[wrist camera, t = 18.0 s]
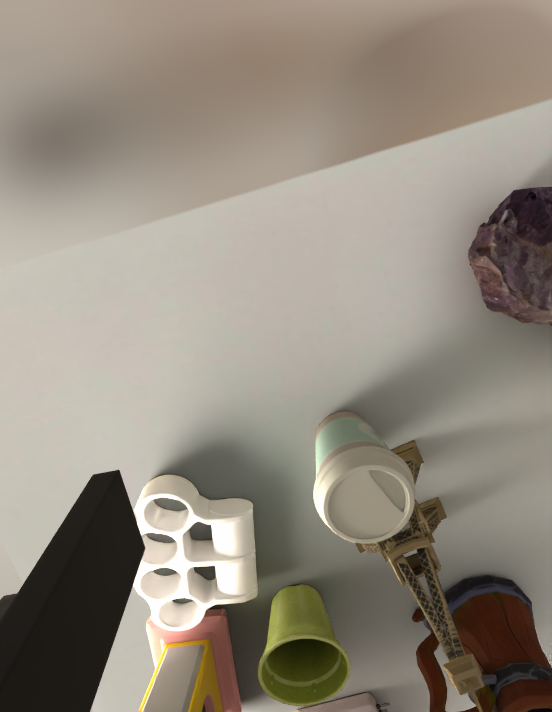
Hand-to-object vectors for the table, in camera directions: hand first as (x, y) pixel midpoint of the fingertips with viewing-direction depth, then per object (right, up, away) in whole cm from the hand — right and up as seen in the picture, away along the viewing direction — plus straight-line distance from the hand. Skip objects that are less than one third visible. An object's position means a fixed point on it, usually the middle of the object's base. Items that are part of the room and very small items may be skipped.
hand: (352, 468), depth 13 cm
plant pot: (0, -26, +42) cm, 49 cm away
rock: (+19, +12, +30) cm, 38 cm away
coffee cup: (+5, -5, +35) cm, 36 cm away
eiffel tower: (+10, -12, +38) cm, 41 cm away
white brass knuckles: (-12, -18, +39) cm, 44 cm away
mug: (+20, -28, +43) cm, 55 cm away
